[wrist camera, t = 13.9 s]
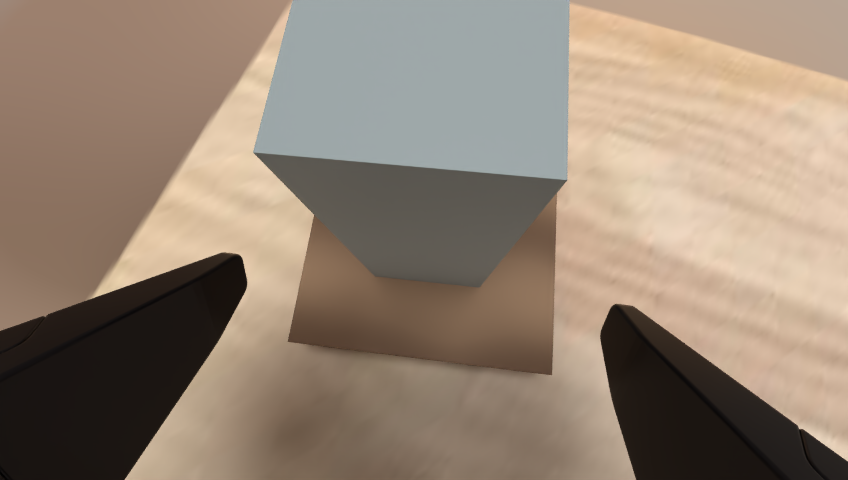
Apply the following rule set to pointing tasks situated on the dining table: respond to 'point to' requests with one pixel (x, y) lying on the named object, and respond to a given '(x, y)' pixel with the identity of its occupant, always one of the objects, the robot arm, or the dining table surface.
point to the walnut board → (433, 306)
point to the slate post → (422, 127)
